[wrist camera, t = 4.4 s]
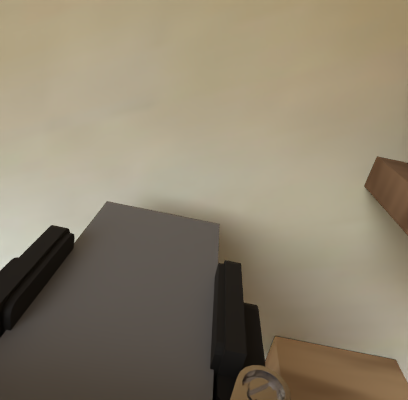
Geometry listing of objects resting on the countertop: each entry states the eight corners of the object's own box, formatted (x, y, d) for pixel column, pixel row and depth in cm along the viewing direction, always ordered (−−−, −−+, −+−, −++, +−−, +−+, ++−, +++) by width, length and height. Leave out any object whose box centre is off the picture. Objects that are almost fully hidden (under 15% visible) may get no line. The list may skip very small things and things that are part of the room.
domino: (212, 254, 16) (193, 526, 7) (104, 232, 16) (-61, 480, 7) (219, 223, 15) (209, 479, 6) (107, 201, 15) (-71, 427, 6)
